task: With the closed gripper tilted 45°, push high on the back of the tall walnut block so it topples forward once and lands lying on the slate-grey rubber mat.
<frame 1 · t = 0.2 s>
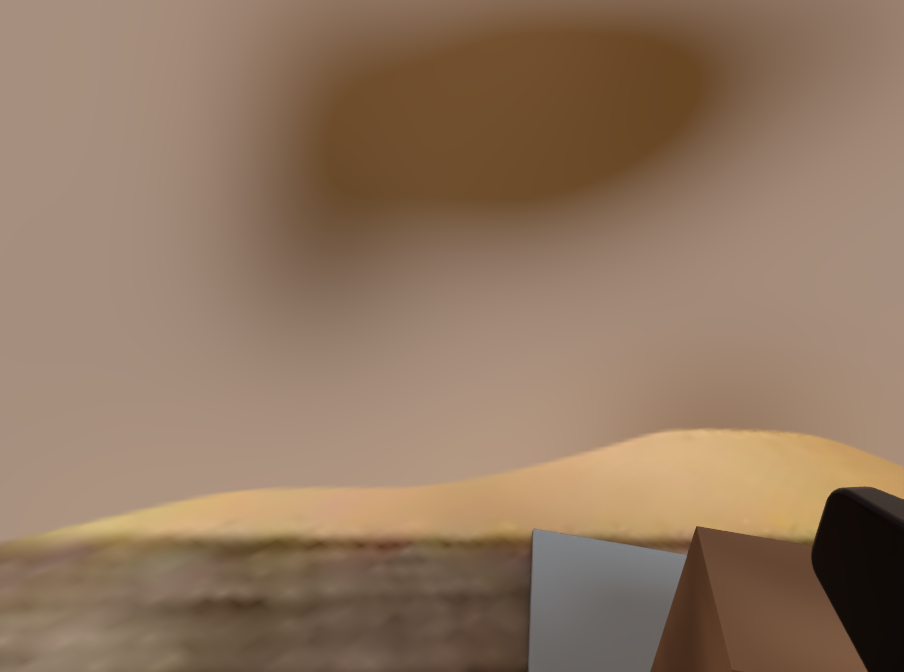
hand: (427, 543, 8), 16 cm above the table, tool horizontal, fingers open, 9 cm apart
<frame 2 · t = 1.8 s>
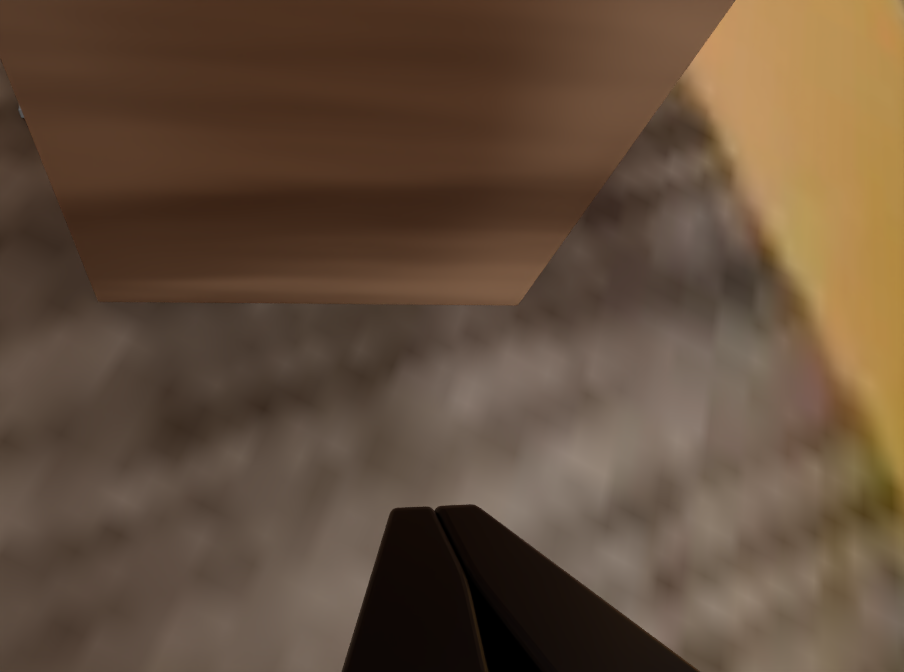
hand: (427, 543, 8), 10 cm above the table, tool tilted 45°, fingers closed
walnut block: (317, 230, 21), on the table
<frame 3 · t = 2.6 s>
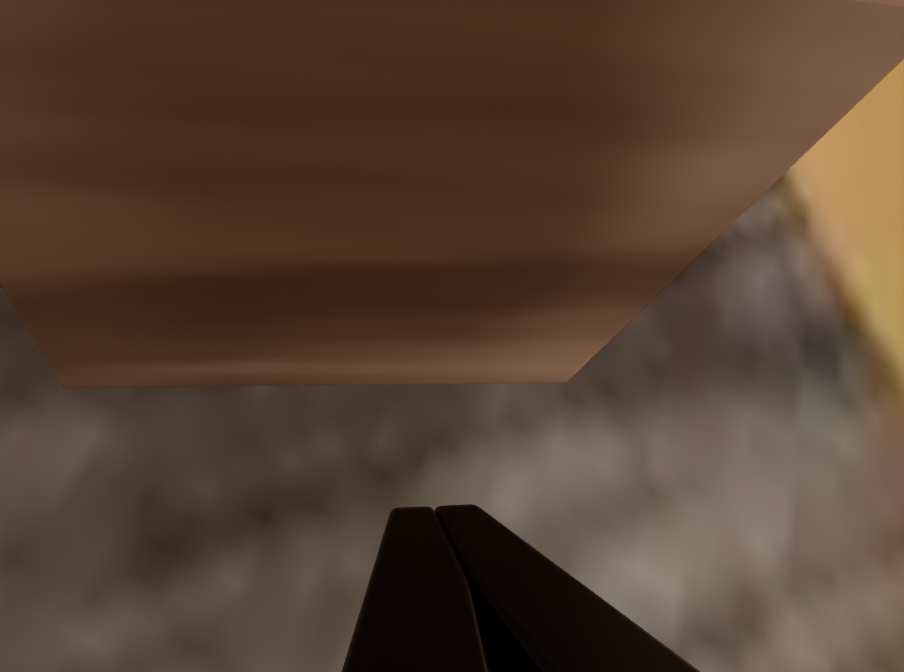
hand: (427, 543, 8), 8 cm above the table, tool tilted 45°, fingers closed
walnut block: (329, 294, 18), on the table
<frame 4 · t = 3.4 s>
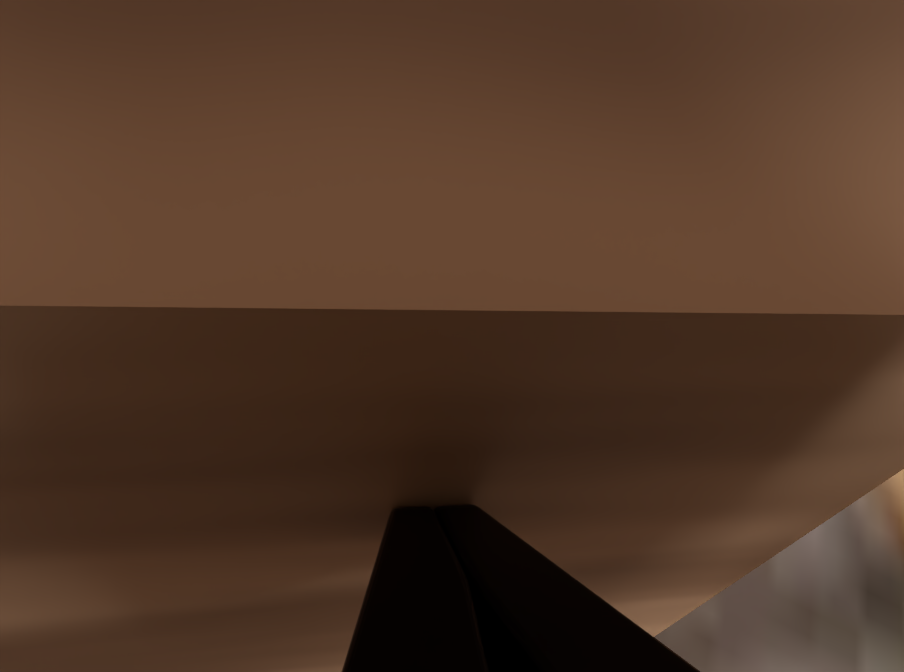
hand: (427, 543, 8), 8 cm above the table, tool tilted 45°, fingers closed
walnut block: (343, 568, 15), on the table, tilted 11°
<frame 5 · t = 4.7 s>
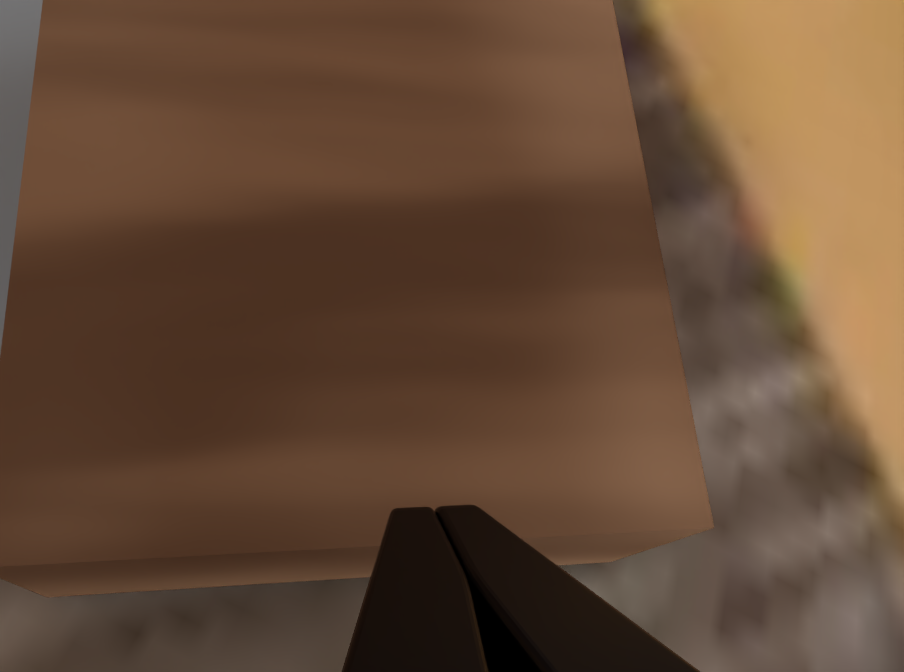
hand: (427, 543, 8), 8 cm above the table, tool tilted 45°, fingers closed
walnut block: (364, 564, 13), point 2 cm above the table, tilted 90°, touching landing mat
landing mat: (335, 242, 18), on the table
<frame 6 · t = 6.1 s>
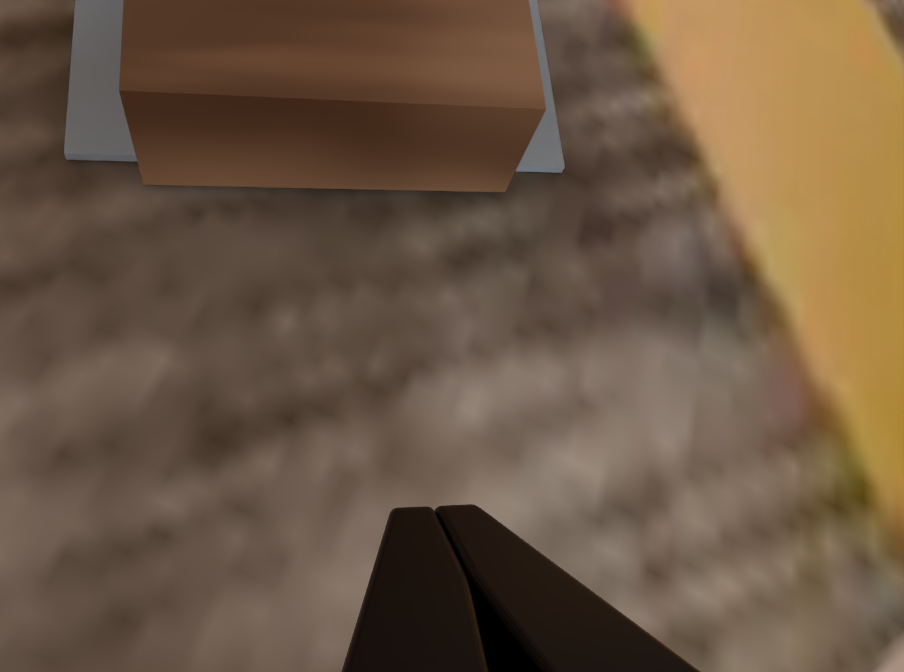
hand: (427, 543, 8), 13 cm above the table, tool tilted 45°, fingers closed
walnut block: (338, 148, 22), point 2 cm above the table, tilted 90°, touching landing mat
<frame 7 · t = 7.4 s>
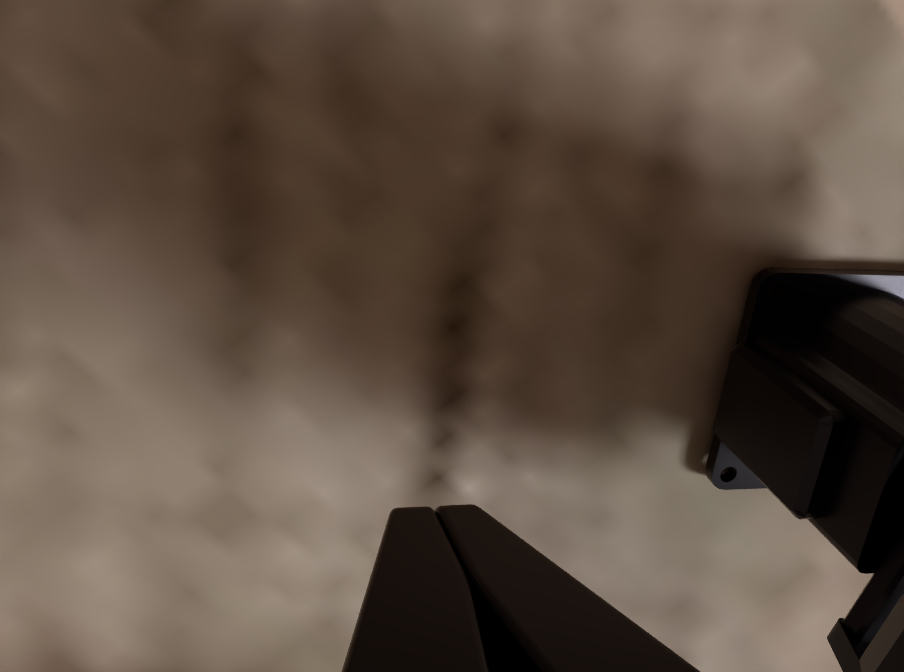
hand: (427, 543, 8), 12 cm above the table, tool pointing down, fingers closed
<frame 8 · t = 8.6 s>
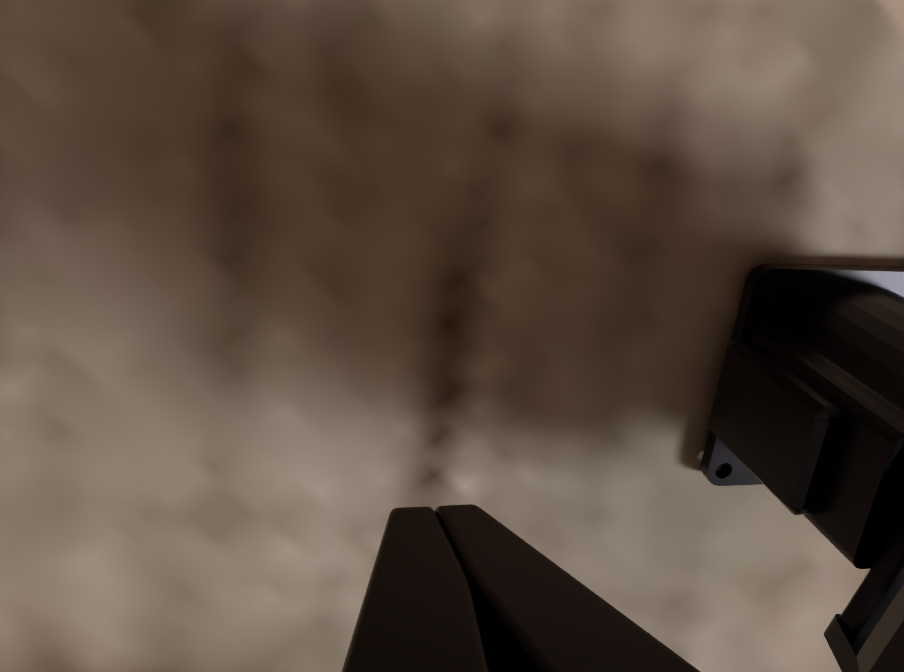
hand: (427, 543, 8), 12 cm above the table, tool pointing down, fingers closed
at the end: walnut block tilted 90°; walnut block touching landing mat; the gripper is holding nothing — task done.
